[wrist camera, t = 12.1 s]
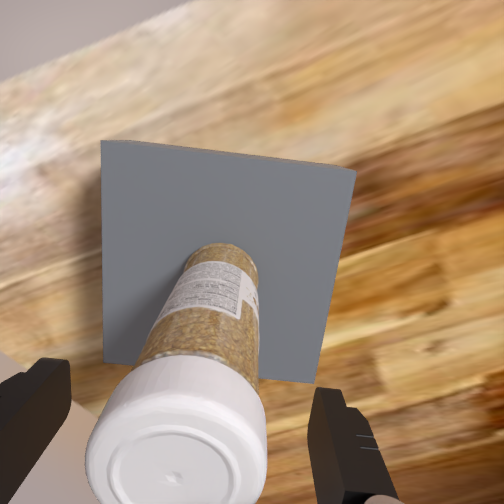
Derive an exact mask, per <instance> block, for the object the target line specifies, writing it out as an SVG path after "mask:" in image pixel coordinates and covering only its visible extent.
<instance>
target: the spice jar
mask: <svg viewBox="0 0 504 504" xmlns="http://www.w3.org/2000/svg"><path fill="white" fill-rule="evenodd" d="M257 288H258V272H257V268H256V265H255V263H254V262H253V260H252V259H251V257H250V256H249V255H248V254H247V253H246V252H245V251H243V250H242V249H240V248H239V247H236V246H234V245H232V244H226V243H212V244H208V245H205V246H202V247H201V248H200V249H198V250H197V251H196V252H194V253H193V254H192V255H191V257H190V258H189V259H188V261H187V263H186V265H185V268H184V273H183V275H182V276H181V277H180V278H179V280H178V282H177V284H176V285H175V287H174V289H173V291H172V293H171V294H170V296H169V298H168V300H167V301H166V303H165V305H164V307H163V309H162V311H161V312H160V314H159V316H158V318H157V320H156V322H155V323H154V325H153V327H152V329H151V331H150V333H149V335H148V338H147V340H146V344H145V346H144V347H143V349H142V352H141V354H140V355H139V358H138V359H137V361H136V363H135V365H134V367H133V369H132V370H131V372H130V373H129V374H128V375H127V376H126V377H125V378H124V379H123V380H122V381H121V382H120V383H119V384H118V385H117V387H116V388H115V390H114V391H113V393H112V395H111V397H110V398H109V400H108V402H107V404H106V405H105V407H104V409H103V411H102V413H101V415H100V417H99V419H98V421H97V423H96V425H95V427H94V429H93V432H92V433H91V435H90V438H89V440H88V443H87V448H86V453H85V470H86V476H87V479H88V483H89V485H90V487H91V489H92V491H93V493H94V495H95V496H96V498H97V500H98V501H99V502H100V503H101V504H255V503H256V501H257V499H258V498H259V496H260V494H261V492H262V490H263V487H264V483H265V479H266V472H267V436H266V418H265V413H264V408H263V405H262V403H261V400H260V398H259V387H258V354H259V303H258V294H257Z"/></svg>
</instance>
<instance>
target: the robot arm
mask: <svg viewBox="0 0 504 504" xmlns="http://www.w3.org/2000/svg"><path fill="white" fill-rule="evenodd" d="M70 406H71V379H70V364H69V361H68V360H63V359H53V358H40V359H39V360H38V361H37V362H36V363H35V364H34V365H33V366H32V367H31V368H30V369H29V370H28V371H27V372H26V373H24V372H20V373H18V374H16V375H14V376H12V377H11V378H9V379H7V380H5V381H3V382H2V383H1V384H0V504H8V503H9V501H10V500H11V498H12V497H13V495H14V494H15V493H16V491H17V489H18V488H19V486H20V485H21V484H22V482H23V481H24V479H25V478H26V477H27V475H28V473H29V472H30V471H31V469H32V468H33V466H34V465H35V463H36V462H37V461H38V459H39V458H40V456H41V455H42V453H43V452H44V450H45V449H46V447H47V446H48V445H49V443H50V442H51V440H52V439H53V437H54V436H55V434H56V433H57V431H58V430H59V428H60V427H61V426H62V424H63V423H64V421H65V420H66V418H67V415H68V413H69V410H70ZM307 439H308V449H309V455H310V461H311V467H312V473H313V479H314V485H315V491H316V497H317V503H318V504H404V503H402V502H401V501H400V500H399V498H398V496H397V493H396V491H395V488H394V486H393V483H392V481H391V478H390V476H389V473H388V471H387V468H386V466H385V463H384V460H383V458H382V455H381V453H380V451H379V450H378V445H377V443H376V440H375V439H374V435H373V433H372V430H371V428H370V425H369V423H368V421H367V420H366V418H365V417H364V416H363V415H362V414H361V413H360V411H359V410H358V409H357V408H352V407H347V406H346V403H345V401H344V398H343V395H342V392H341V390H340V389H331V388H322V387H317V388H316V390H315V394H314V399H313V404H312V409H311V414H310V419H309V424H308V434H307Z"/></svg>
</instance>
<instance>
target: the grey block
mask: <svg viewBox="0 0 504 504" xmlns="http://www.w3.org/2000/svg"><path fill="white" fill-rule="evenodd" d="M356 174H357V171H354V170H351V169H347V168H344V167H340V166H337V165H330V164H322V163H313V162H305V161H297V160H289V159H280V158H272V157H264V156H256V155H248V154H239V153H231V152H223V151H215V150H206V149H198V148H190V147H182V146H173V145H165V144H157V143H149V142H140V141H132V140H101V209H102V291H103V362H104V363H113V364H123V365H133V366H134V365H135V363H136V361H137V359H138V358H139V355H140V354H141V352H142V349H143V347H144V346H145V344H146V340H147V338H148V335H149V333H150V331H151V329H152V327H153V325H154V323H155V322H156V320H157V318H158V316H159V314H160V312H161V311H162V309H163V307H164V305H165V303H166V301H167V300H168V298H169V296H170V294H171V293H172V291H173V289H174V287H175V285H176V284H177V282H178V280H179V278H180V277H181V276H182V275H183V273H184V268H185V265H186V263H187V261H188V259H189V258H190V257H191V255H192V254H193V253H194V252H196V251H197V250H198V249H200V248H201V247H202V246H205V245H208V244H212V243H226V244H232V245H234V246H236V247H239V248H240V249H242V250H243V251H245V252H246V253H247V254H248V255H249V256H250V257H251V259H252V260H253V262H254V263H255V265H256V268H257V272H258V288H257V294H258V303H259V354H258V378H262V379H271V380H281V381H291V382H301V383H311V384H314V381H315V376H316V371H317V366H318V361H319V356H320V351H321V346H322V341H323V336H324V332H325V327H326V322H327V317H328V312H329V307H330V302H331V297H332V292H333V287H334V282H335V277H336V272H337V267H338V262H339V257H340V253H341V248H342V243H343V238H344V233H345V228H346V223H347V218H348V213H349V208H350V203H351V198H352V193H353V188H354V183H355V178H356Z"/></svg>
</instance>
